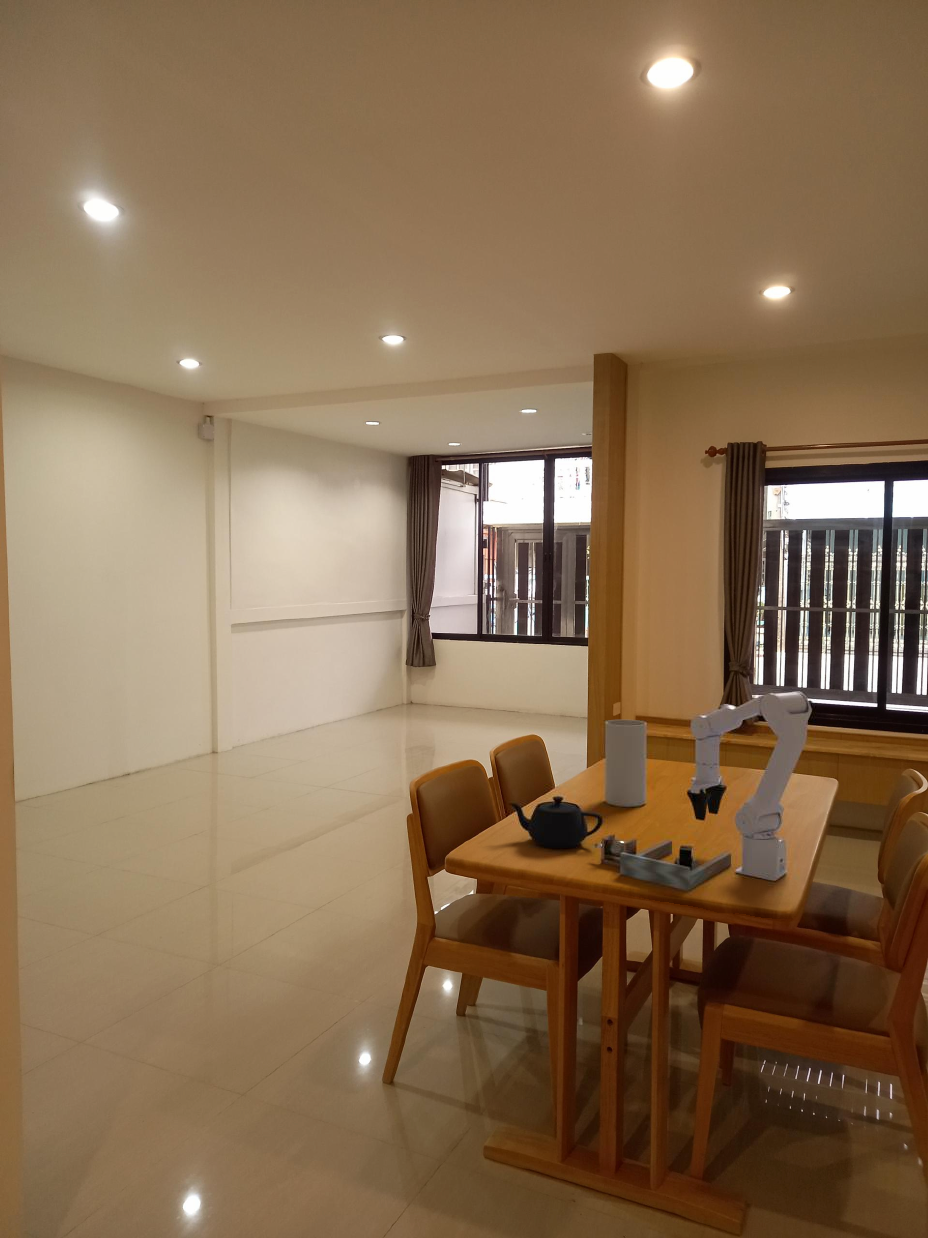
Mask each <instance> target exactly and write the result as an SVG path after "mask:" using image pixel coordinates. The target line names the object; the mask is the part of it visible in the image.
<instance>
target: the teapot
mask: <svg viewBox="0 0 928 1238" xmlns="http://www.w3.org/2000/svg"><path fill="white" fill-rule="evenodd" d="M563 800H564V797H563V796H559V795H558V796H556V795H555V796H553V797H552V801H543V802H540V803H538V804H536V806H535V807H534V810H533V811H532V813H531V816H530V818H528V817H526V816H525V814H524V811H523V809H522V807H521V805H520V804H518V803H514V802H513V803H511V802H508V805H510V806H511V807H513V808H514V810H515V812H516V815H517V818H518V821H519V825H520V826H521V828H522V829H524V830H525V831H526V832H528V834H529V836H530V838H531V839H532V840H533V841H534V842H535V843H536V844H537V845H539V846H542V847H544V848H549V849H558V850H560V849H561V850H562V849H571V848H574V847H577V846H580V844H581V843H582V842H583V841H584V840H585V839H587V837H590V836H591V835H593V834H595V833H596V832H598V831H599V830H600V828H601V827H602V826H603V823H604V821H603V820H604V819H603V816H602V815H601V814H600V813H596V812H589V811H582V809H581V807H580V806H579V805H578V804H576V803H573V802H568V801H563ZM585 817H593V818H596V819H597V822H596V825H595V826H594V828H593V829H591V830H590V831H589V827H588V824H587V821H586V818H585Z"/></svg>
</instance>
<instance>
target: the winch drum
mask: <svg viewBox="0 0 928 1238" xmlns="http://www.w3.org/2000/svg"><path fill="white" fill-rule="evenodd" d="M600 841H601V844H600V843H594V848H596V849H600V851H601V852H600V853H601V855H600V856H601V857H600V863H601V864H605V865H608V866H613V867H618V868H620V858H621V853H622V852H623V853H628V854H632V855H636V854H637V838H631V839H629V840H628V841H627V840H626V841H623V840H619V839H616V834H614V833H610V834H609V835H607V836H604V837H602V838H601V839H600Z"/></svg>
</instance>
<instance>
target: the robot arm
mask: <svg viewBox="0 0 928 1238" xmlns="http://www.w3.org/2000/svg"><path fill="white" fill-rule="evenodd" d="M812 711H813V709H812V707H811V704H810V702H809V700H808V697H807V696H806V695H805V694H804V693H803V692H802V691H800V690H799V691H791V692H780V693H770V692H769V693H766V694H765V695H764V694H763V695H758V697H755V698H753V699H751V700H749V701H747V702H744V703H743V704H741V705H739V706H735V705H732V704H728V703H726V704H725V703H724V704H721V705H720V708H718V709H716V710H709V711H707V714H706V715H700V714H699V715H698V714H697V715H695V717H693V718H692V719H691V722H690V730H691V731H690V732H691V734H692V735H693V736H694V738H695V760H694V761H695V769H694V770H695V777H691V778H690V782H692V783H691V784H690V789H688V790H686V793H687V794H686V795H687V796H688V798H689V800H690V802H691V805H692V809H693V813H694V818H695V820H698V821H704V822H705V820H706V816H707V810H708V813H709V814H712V815H718V813H719V810H720V805H721V801H722V799H723V796H724V795H725V792H726V790H727V787H728V786H727V785H724V784H723V783H724V777H723V775H720V744H721V742H722V737H723V735H724V734H725V733H728V732H730V731H732V730H735V729H738V728H740V727H741V725H742V724H743V720H747V719H750V718H752V717H756V716H759V717H760V716H762V717H763V718H764V720H765V721H766V723H767V724H768V726H769V728H770V729H771V731H773V734H774V735H775V736H777V737H778V739H777V741H776V744H775V746H774V749H773V751H772V752H771V753H772V754H771V756H770V758H769V760H768V763H767V766H766V768H765V769H764V772H763V775H762V777H761V779H760V782H759V783H758V786H757V789H756V792H755V794H753V795H752V796H751V797H750V798H748V799H747V800H745V802H744V803H743V805H742V807H741V808H739V809H738V810H737V811H736V813H735V816H734V822H735V823H734V825H735V826H736V829H737V830H738V832H739V835H741V866H740V867H738V868H737V869H735V871H734V872H735V873H737V874H741V875H745V876H750V877H753V878H759V879H763V880H768V881H773V882H775V881H777V880H779V879H780V878H781V877H784V875H786V874H787V873H788V870H787V844H786V840H783V839H782V838H780V837H776V836H777V833H778V832H777V831H778V830H779V829H780V828H781V827H782V825H783V813H784V811H785V807H784V806H783V804H782V803H781V799H782V798H783V794H784V793H785V790H786V788H787V786H788V784H789V781H790V779H791V776H792V775H793V772H794V771H795V767H796V765H797V763H798V761H799V759H800V756H801V754H802V752H803V750H804V748H805V747H804V746H806V743H807V739H808V724H809V723H808V720H809V718H810V716H811V713H812Z"/></svg>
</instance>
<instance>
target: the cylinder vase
mask: <svg viewBox="0 0 928 1238" xmlns="http://www.w3.org/2000/svg"><path fill="white" fill-rule="evenodd" d="M604 725H605V726H604V727H605V731H604V733H605V735H604V737H605V738H604V739H605V743H604V745H605V746H604V748H605V751H604V752H605V753H604V757H605V758H604V760H605V761H604V762H605V763H604V764H605V766H604V773H605V774H604V796H605V797H604V800H605V802H606V804H608V805H611V806H614V807H619V808H620V807H622V808H635V807H641V806H644V805H645V804H647V803H646V802H647V722H645V721H643V720H636V719H611V720H606V721H605V724H604Z"/></svg>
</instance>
